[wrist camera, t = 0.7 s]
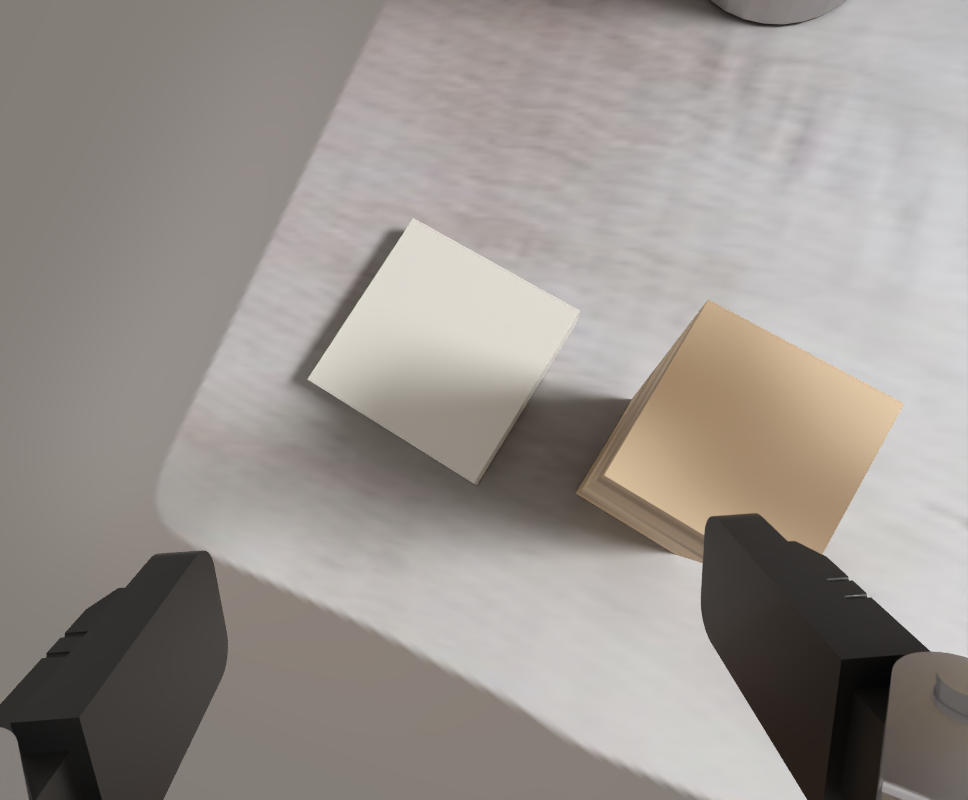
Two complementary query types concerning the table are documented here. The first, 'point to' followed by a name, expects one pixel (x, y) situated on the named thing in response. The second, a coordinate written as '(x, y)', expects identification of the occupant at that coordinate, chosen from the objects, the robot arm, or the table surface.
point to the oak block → (739, 439)
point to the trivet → (445, 349)
